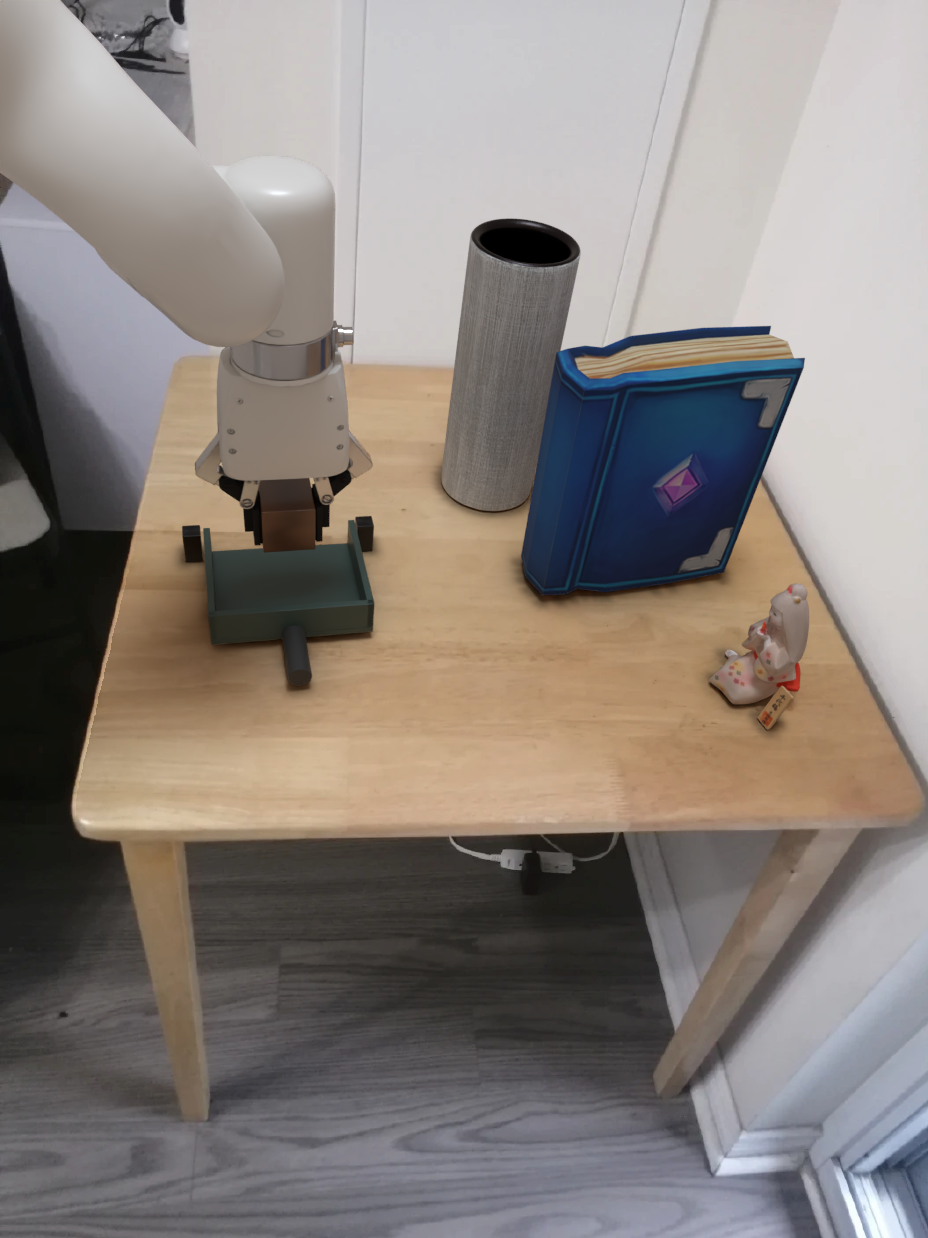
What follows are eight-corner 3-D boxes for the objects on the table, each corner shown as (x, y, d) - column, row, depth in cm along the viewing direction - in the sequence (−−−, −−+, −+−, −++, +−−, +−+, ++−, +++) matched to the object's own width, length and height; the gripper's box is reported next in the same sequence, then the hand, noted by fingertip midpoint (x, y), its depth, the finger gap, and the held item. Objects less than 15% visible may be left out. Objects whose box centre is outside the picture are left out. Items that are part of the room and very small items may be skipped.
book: (530, 609, 89) (584, 377, 72) (505, 560, 94) (550, 331, 76) (725, 579, 96) (818, 360, 78) (692, 535, 100) (773, 318, 83)
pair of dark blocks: (185, 551, 89) (181, 525, 87) (370, 540, 94) (371, 515, 91) (185, 562, 88) (182, 536, 86) (372, 550, 93) (374, 525, 90)
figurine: (692, 659, 87) (748, 557, 80) (750, 657, 90) (809, 558, 82) (741, 732, 81) (807, 628, 73) (803, 727, 83) (872, 627, 76)
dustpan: (210, 661, 74) (214, 694, 77) (384, 646, 78) (382, 678, 80) (203, 527, 86) (206, 559, 89) (354, 519, 90) (353, 550, 92)
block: (263, 553, 80) (261, 512, 77) (259, 520, 83) (257, 479, 80) (315, 549, 81) (315, 509, 78) (309, 517, 84) (309, 477, 81)
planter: (515, 454, 107) (560, 217, 88) (542, 509, 101) (597, 265, 82) (430, 459, 105) (458, 216, 86) (453, 516, 98) (488, 266, 79)
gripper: (386, 316, 73) (376, 501, 86) (161, 318, 69) (185, 511, 82) (404, 367, 68) (390, 555, 81) (162, 372, 64) (187, 569, 77)
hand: (287, 531), depth 82 cm, fingers closed on block, 4 cm apart
